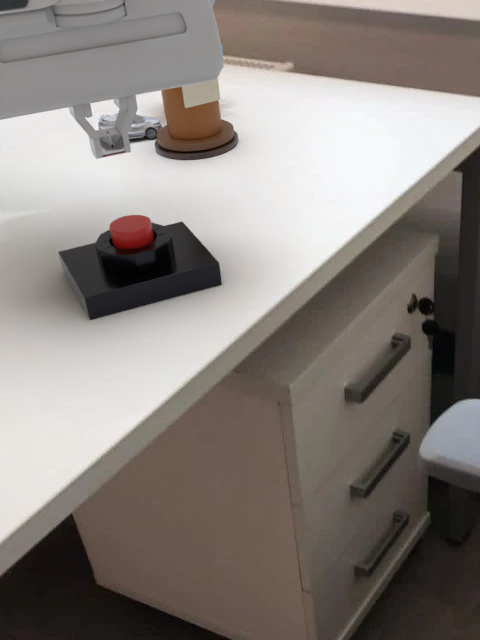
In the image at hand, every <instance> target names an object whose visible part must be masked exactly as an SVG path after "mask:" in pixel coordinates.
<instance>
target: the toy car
mask: <svg viewBox="0 0 480 640" xmlns="http://www.w3.org/2000/svg"><path fill="white" fill-rule="evenodd" d="M118 113H119V112H117V113H115V114H101V115H100V116H99V118H98V123H97V124H98V130H102V129H108V128H112V127H114V125H115V122H116V119H117V116H118ZM163 127H164V126H163V125H162V121H161V120H160V119H159V118H157V117H156V116H153V115H143V116H142V115H139V114H136V115H135V117H134V120H133V123H132V125H131V128H130V131H129V132H128V136H129V140H130V139H131V140H133V139H141V138H144V137H146V138H147V139H149V140H154V139H155V138H157V132H158V131H159V130H160V129H161V128H163Z"/></svg>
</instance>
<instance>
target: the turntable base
mask: <svg viewBox="0 0 480 640" xmlns="http://www.w3.org/2000/svg"><path fill="white" fill-rule="evenodd" d="M238 143H239V135H238V133H237V131H235V130H234V137H233V138H232V139H231V140H230V141H229V142H227V143H225V144H223V145H220V146H218V147H214V148H211V149H206V150H200V151H174V150H169V149H165V148H163V147H161V146H160V145H159V144H158V141H157V138H156V139H155V141H154V148H155V149H154V150H155V151H156V153H157V154H159V156H162V157H165V158H169V159H172V160H173V159H174V160H200V159H206V158H213V157H216V156H219V155H222V154H225V153H227V152H229V151H231V150H232V149H234V148H235V147H236V146H237V145H238Z"/></svg>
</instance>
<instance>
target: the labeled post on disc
mask: <svg viewBox="0 0 480 640" xmlns="http://www.w3.org/2000/svg"><path fill="white" fill-rule="evenodd" d="M162 97H163V100H162V104H163V103H164V106H163V110H164V109H165V112H164V115H165V122H166V125H163V126H162V127H163V128H161V129H160V130H159V131H158V132H157V136H156V139H157V141H158V144H159V145H160V146H161V147H163V148H165V149H169V150H174V151H200V150H206V149H211V148H214V147H218V146H220V145H223V144H225V143H227V142H229V141H230V140H231V139H232V138H233V137H234V131H235V129H234V125H233V124H232V123H231V122H230V121H228V120H225V119H221V118H222V117H221V109H220V102H219V101H220V100H221V93H220V84H219V77H218V78H217V79H216V80H214V81H209V82H204V83H198V84H193V85H188V86H182V87H177V88H171V89H166V90H162V94H161V98H162Z"/></svg>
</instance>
